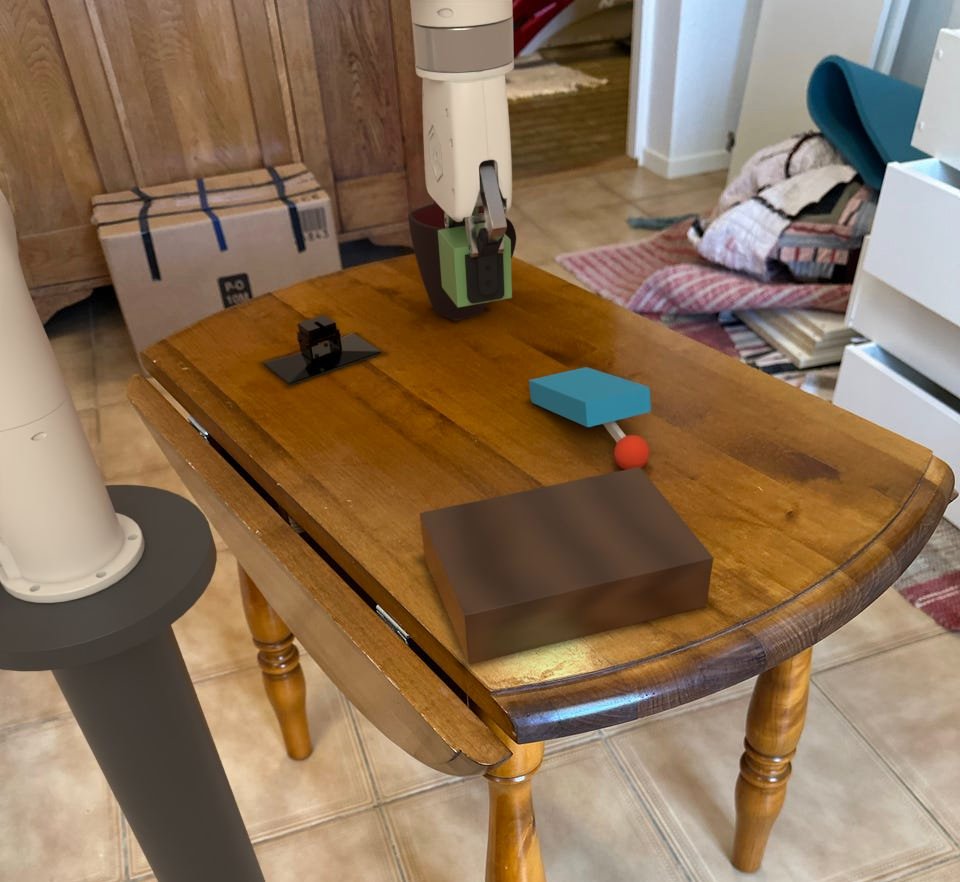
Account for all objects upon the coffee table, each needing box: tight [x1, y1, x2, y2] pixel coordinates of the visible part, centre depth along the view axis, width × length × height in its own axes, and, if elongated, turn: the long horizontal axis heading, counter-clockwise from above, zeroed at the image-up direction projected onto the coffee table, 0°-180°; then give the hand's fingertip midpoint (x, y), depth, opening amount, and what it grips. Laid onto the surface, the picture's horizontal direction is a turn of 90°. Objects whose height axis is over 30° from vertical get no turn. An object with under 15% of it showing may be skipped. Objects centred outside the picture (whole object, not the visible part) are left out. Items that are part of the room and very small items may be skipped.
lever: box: [528, 366, 652, 470], centre depth 95 cm, size 7×7×18 cm
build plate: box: [263, 314, 382, 386], centre depth 110 cm, size 12×7×5 cm, turn 125°
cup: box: [407, 202, 517, 321], centre depth 117 cm, size 10×14×12 cm
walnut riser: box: [419, 467, 714, 665], centre depth 76 cm, size 20×14×5 cm
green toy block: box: [438, 223, 513, 307], centre depth 81 cm, size 5×5×5 cm
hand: (475, 285), depth 82 cm, fingers closed on green toy block, 5 cm apart
